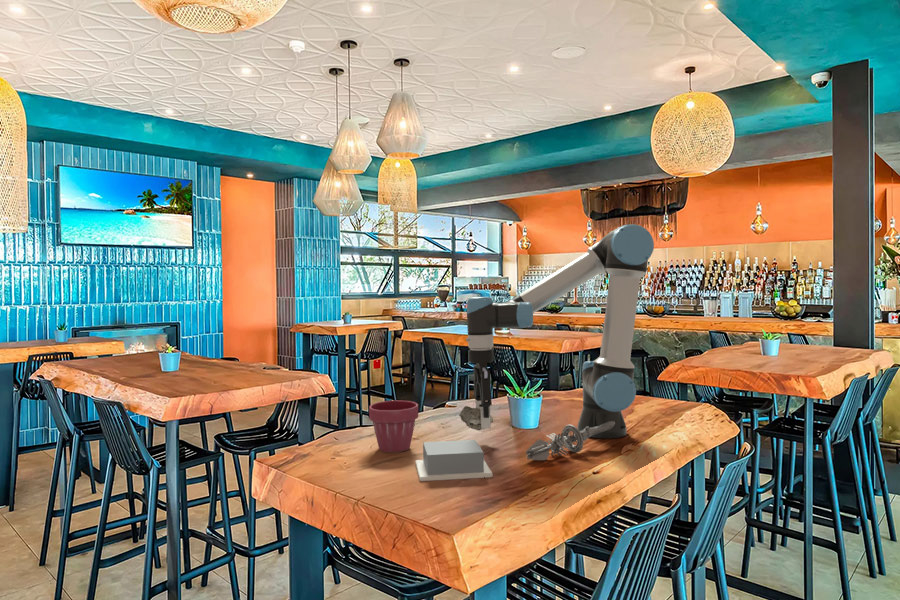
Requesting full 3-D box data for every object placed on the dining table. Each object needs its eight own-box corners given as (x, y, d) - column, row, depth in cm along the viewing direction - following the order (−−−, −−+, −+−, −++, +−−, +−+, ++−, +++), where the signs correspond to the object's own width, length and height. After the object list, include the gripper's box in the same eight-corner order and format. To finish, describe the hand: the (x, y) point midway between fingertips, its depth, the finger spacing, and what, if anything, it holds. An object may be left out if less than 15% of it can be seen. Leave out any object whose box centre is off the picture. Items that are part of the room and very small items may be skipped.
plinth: (481, 460, 159) (481, 438, 159) (492, 477, 145) (492, 452, 145) (415, 463, 157) (415, 441, 156) (419, 481, 143) (419, 456, 143)
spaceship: (628, 419, 171) (607, 405, 177) (539, 451, 152) (519, 434, 157) (621, 441, 174) (601, 426, 180) (533, 476, 155) (514, 458, 161)
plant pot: (376, 457, 163) (376, 411, 162) (364, 445, 176) (364, 402, 175) (425, 451, 168) (424, 407, 168) (410, 439, 181) (409, 398, 181)
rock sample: (463, 419, 168) (469, 395, 175) (453, 432, 174) (459, 408, 180) (497, 433, 169) (501, 408, 176) (486, 446, 175) (491, 421, 181)
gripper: (462, 345, 184) (465, 418, 185) (474, 353, 164) (477, 434, 164) (486, 344, 185) (488, 416, 186) (500, 351, 165) (503, 432, 165)
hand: (483, 424), depth 175 cm, fingers closed on rock sample, 8 cm apart
